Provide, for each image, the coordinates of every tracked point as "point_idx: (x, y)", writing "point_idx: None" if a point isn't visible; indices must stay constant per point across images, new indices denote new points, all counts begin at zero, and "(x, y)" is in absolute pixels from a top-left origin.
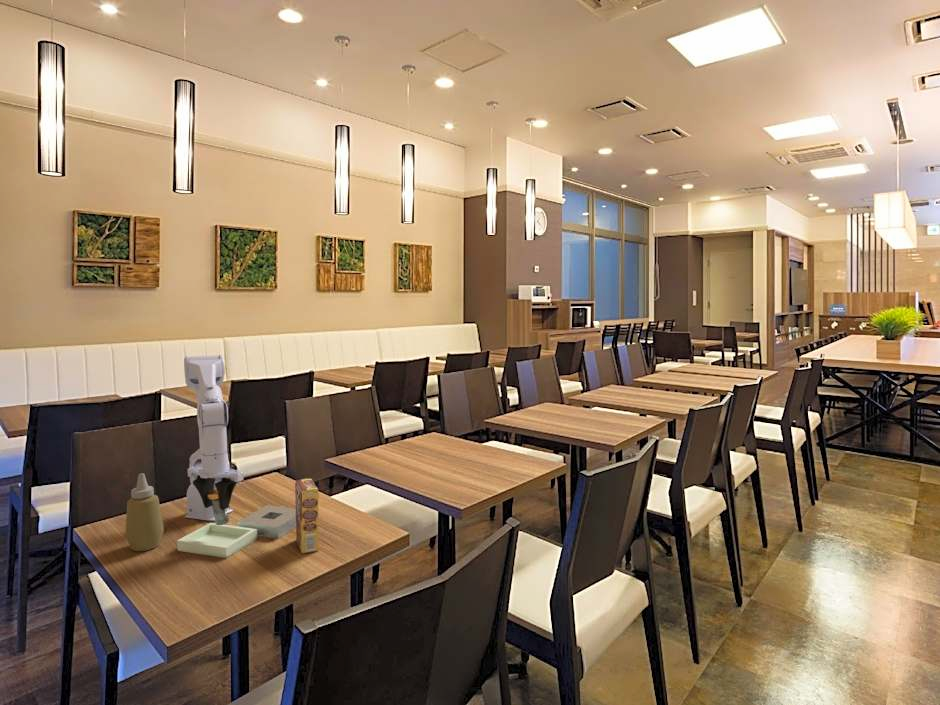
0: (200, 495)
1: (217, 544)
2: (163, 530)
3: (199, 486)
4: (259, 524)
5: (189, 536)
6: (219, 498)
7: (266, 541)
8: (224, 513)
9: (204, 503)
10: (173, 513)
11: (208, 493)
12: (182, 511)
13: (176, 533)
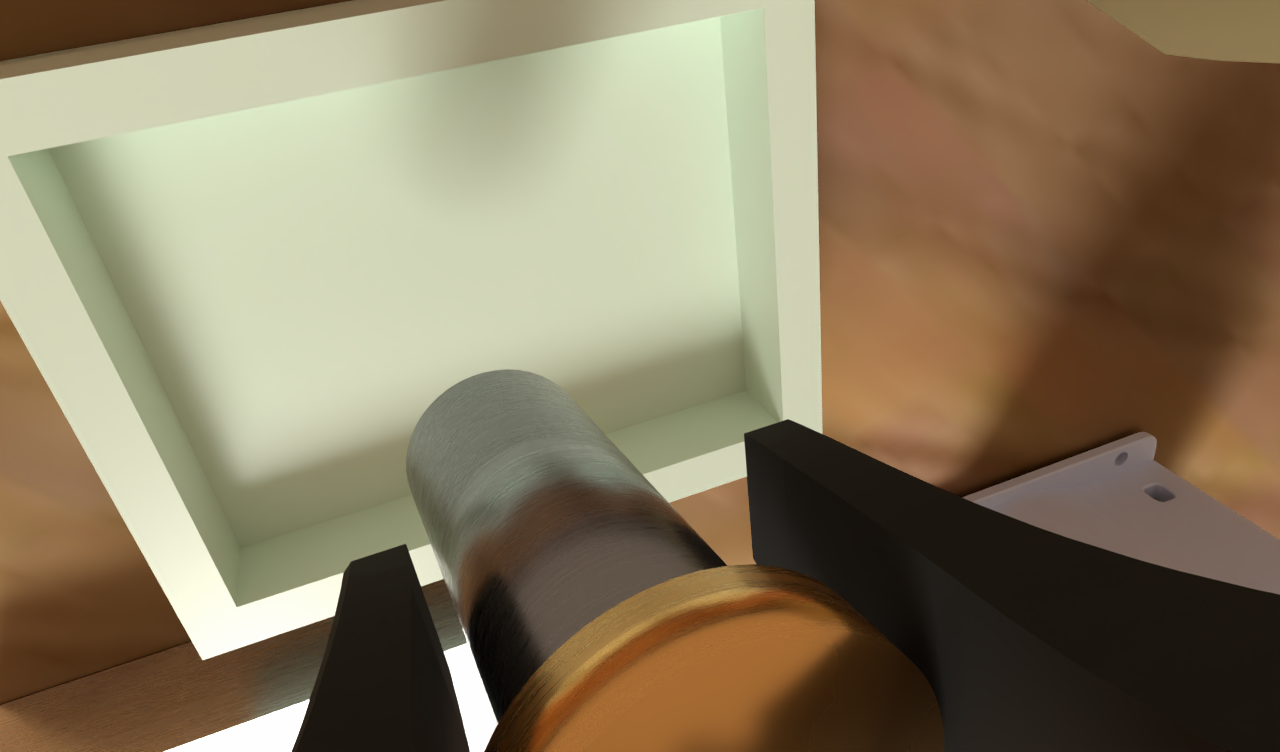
0: (1016, 520)
1: (168, 116)
2: (1113, 6)
3: (1262, 706)
4: (257, 723)
5: (765, 109)
6: (398, 740)
7: (49, 606)
8: (437, 550)
9: (822, 456)
10: (1257, 421)
11: (871, 681)
12: (1218, 474)
13: (1033, 216)
